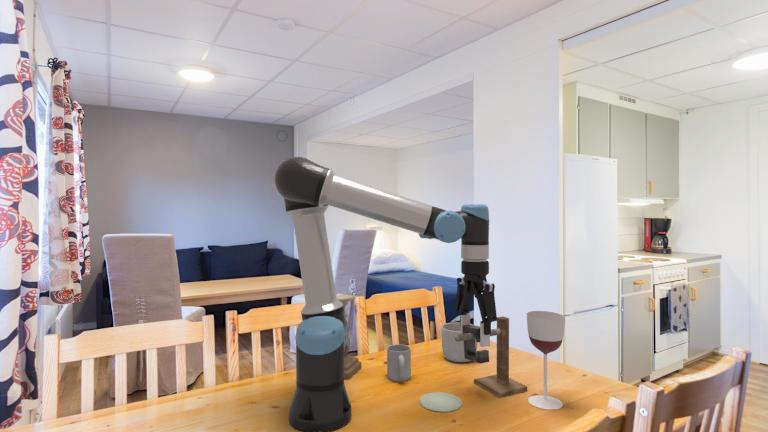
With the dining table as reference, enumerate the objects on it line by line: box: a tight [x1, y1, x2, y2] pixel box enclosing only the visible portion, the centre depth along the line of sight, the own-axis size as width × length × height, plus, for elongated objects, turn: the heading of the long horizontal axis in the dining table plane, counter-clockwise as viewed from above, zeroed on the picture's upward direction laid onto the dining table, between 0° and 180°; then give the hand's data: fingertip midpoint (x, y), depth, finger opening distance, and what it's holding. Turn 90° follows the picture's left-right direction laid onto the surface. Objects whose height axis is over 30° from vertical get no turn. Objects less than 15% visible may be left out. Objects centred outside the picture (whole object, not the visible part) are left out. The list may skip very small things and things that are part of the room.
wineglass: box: [526, 310, 566, 410], centre depth 115 cm, size 9×10×23 cm
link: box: [463, 324, 490, 364], centre depth 121 cm, size 3×7×9 cm, turn 26°
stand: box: [455, 316, 528, 399], centre depth 123 cm, size 20×11×20 cm, turn 116°
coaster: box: [419, 391, 463, 413], centre depth 115 cm, size 11×11×1 cm
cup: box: [386, 344, 412, 383], centre depth 131 cm, size 7×10×9 cm
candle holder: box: [336, 292, 362, 380], centre depth 137 cm, size 11×11×24 cm
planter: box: [440, 321, 478, 363], centre depth 149 cm, size 12×12×11 cm
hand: (474, 341), depth 121 cm, fingers open, 8 cm apart
